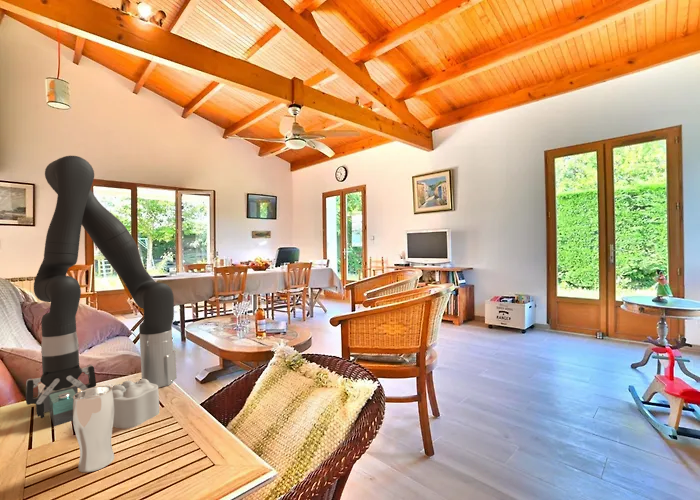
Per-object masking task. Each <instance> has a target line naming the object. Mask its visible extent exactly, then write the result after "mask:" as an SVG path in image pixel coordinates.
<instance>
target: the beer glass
mask: <svg viewBox="0 0 700 500" xmlns="http://www.w3.org/2000/svg"><path fill="white" fill-rule="evenodd" d="M112 387H113V386H110V385H96V386H95V387H92V388H88V389H85V390H80V391H79V392H78V393H76V394H75V395H74V396H73V421H72V424H73V429H74V432H75V435H76V436H75V437H76V439H77V440H76V441H77V443H78V447H79V461H78V467H77V470H78V471H79V472H81V473H85V474H86V473H91V472H92V473H93V472H96V471H99V470H101V469H104V468H106V467H107V466H108V465H111V463H112V462H113V461H114V460H115V453H114V451H113V446H112V435H113V428H114V427H113V423H114V413H115V412H114V398H113V392H112Z"/></svg>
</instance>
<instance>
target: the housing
mask: <svg viewBox="0 0 700 500" xmlns="http://www.w3.org/2000/svg"><path fill="white" fill-rule="evenodd" d="M75 394H76V393H75V391H74V390H73V388H72V389H69V390H65V391H61V392H57V393H53V394H50V395H49V401H50V411H49V416H50V419H51V421H52V424H53V426H54V427H57V426H60V425H64V424H66V423H69V422H73V396H74V395H75Z"/></svg>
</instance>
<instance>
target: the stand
mask: <svg viewBox="0 0 700 500" xmlns="http://www.w3.org/2000/svg"><path fill="white" fill-rule="evenodd" d="M44 387H45V385H44V384H43V383H41V382H39V383H38V384H37V391H38V393H37V396H38V395H39V394H40V393H41V391H42V389H43V388H44ZM72 388H73V390H74V391H75V393H78V391H79V390H78V389H79V388H78V387H76V386H75V385H74V384H73V385H72V386H70V387H69V388H62V389H60V390H57V391H55V390H52V391H51V392H50V394H53V393H57V392H61V391H65V390H69V389H72ZM50 394H49V395H50ZM49 395H48V396H47V397H46V398H45V399H44V401H43V403H44V413H48V412H50V401H49Z"/></svg>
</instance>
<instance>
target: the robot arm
mask: <svg viewBox="0 0 700 500" xmlns="http://www.w3.org/2000/svg"><path fill="white" fill-rule="evenodd" d="M44 177H45V180H46V182H47V184H48V185H49V187H51V189H52V190H53V191H54V193H55V194H57V200H56V203H55V208H54V212H53V215H52V217H51V218H52V219H51V220H50V223H49V226H48V229H47V231H46V237H45V243H44V251H43V259H42V262H41V264H40V266H39V267H38V272H37V274H36V275H35V278H34V281H33V294H34V295H35V297H36V299H38V300H39V301H41V302H44V303H45V302H46V303H50V306H49V312H47V313H44V315H42V317H41V323H40V324H41V336H42V337H41V345H40V346H41V364H42V365H41V368H42V374H41V376H40V377H36V378H31V377H30V378H27V379H26V382H25V402H26V405H28V406H29V405H35V408H36V409H35V411H36V416H37V417H38V418H39V417H40V419H43V418H45V417H46V416H45V412H44V403H43V401H44V399H45V398H46V397H47V396H48V395H49V394H50V392H51V391H52V390H55V391H57V390H60V389H62V388H69V387H70V386H72V385H73V384H74V385H75V386H76V387H78V389H79V390H80V391H82V390H85V389H88V388H92V387H97V380H96V373H95V366H94V365H93V364H88V365H87V366H85V367H80V352H79V351H80V350H79V347H80V344H79V338H78V334H77V320H76V319H77V318H76V315H77V312H78V308H79V305H80V299H81V295H82V288H81V285H80V283H79V281H78V280H77V279H76V278H75V277H73V276H70V275H67V273H68V270H69V268H71V267H73V266H75V265H76V264H77V262H78V257H79V249H80V242H81V231H82V228H83V229H84V230H85V232H86V233H87V234H88V236H89V238H91V240H92V242H93V243H94V245H95V246H96V247H97V249H98V250H99V252H100V253H101V254H102V256H103V257H104V258H105V259H106V261H107V262H108V264H110V266H111V267H112V268H113V270H114V271H115V272H116V273H117V274H118V276H119V277H120V279H121V280H122V281H123V283H124V285H125V287H126V288H127V291H128V292H129V294H130V296H131V297H132V299H133V301H134V303H135V304H136V305H137V306H138V307H139V308H140V309H143V321H142V322H141V323H140V324H139V327H138V328H139V329H138V330H139V346H140V347H139V349H140V366H141V368H140V371H141V373H140V374H141V379H147V380H148V381H149V382H150V383H153V384H156V385H158V388H161V387H166V386H170V385H171V384H172V383H173V382H174V381H175V380H176V379H177V376H178V375H177V360H176V359H177V358H176V351H175V350H174V349H173V347H174V346H173V331H172V329H173V328H172V325H173V322H174V320H175V304H174V303H175V301H174V299H175V297H174V293H173V289H172V288H171V287H170V286H169V285H168V284H167V283H164V282H159V281H155V279H153V277H152V276H151V275H150V274H149V272H148V271H147V270H146V268H145V266H144V265H143V262H142V259H141V258H142V257H141V256H140V251H139V248H138V245H137V242H136V241H135V239H134V238H133V236H132V234H131V233H130V232H129V230H128V229H127V227H126V226H125V224H124V223H123V222H122V221H121V220H120V219H118V217H116V216H115V215H114V214H113V213H112V212H111V211H109V210H108V209H107V208H106V207H104V205H103V204H101V203H100V201H99V200H98V199H97V197H96V196H95V194H94V193H93V191H92V187H93V183H94V179H95V171H94V168H93V166H92V165H91V164H90V162H89V161H87V159H84V158H83V157H81V156H78V155H66V156H63V157H62V156H61V157H59V158H57V159H56V160H54V161H51V162H50V163H49V164H48V165H47V166H46V168H45V169H44ZM82 373H84V374H85V375H86V376H87V377H88V378H87V379H88V383H86V384H85V383H84V382H82V381H81V380H80V379H79V378H80V376H81V375H82ZM171 380H172V381H173V382H172V381H171ZM40 383H43V384H44V385H45V387H44V388H43V389H42V391H41V393H40V394H39V395H38V394H37V396H35V397H34V388H36V387H38V384H40Z"/></svg>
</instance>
